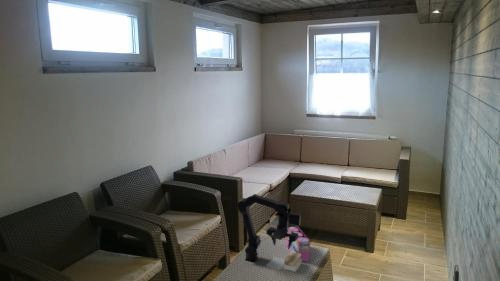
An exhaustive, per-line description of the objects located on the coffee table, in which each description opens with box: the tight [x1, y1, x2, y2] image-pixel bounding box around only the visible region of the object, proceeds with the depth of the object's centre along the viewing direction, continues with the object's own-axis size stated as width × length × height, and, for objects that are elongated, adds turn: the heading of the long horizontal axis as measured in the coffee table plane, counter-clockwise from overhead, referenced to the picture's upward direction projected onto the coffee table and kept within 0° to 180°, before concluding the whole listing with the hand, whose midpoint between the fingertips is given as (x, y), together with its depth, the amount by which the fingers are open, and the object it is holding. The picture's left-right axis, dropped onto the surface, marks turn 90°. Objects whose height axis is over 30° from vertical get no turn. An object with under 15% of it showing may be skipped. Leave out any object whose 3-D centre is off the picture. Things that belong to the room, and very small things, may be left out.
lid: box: [284, 251, 301, 267], centre depth 224 cm, size 6×11×3 cm, turn 152°
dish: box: [283, 260, 302, 272], centre depth 224 cm, size 7×10×4 cm
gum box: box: [286, 225, 311, 262], centre depth 241 cm, size 24×8×14 cm, turn 14°
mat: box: [265, 256, 285, 271], centre depth 228 cm, size 9×13×1 cm
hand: (281, 247), depth 225 cm, fingers open, 9 cm apart
